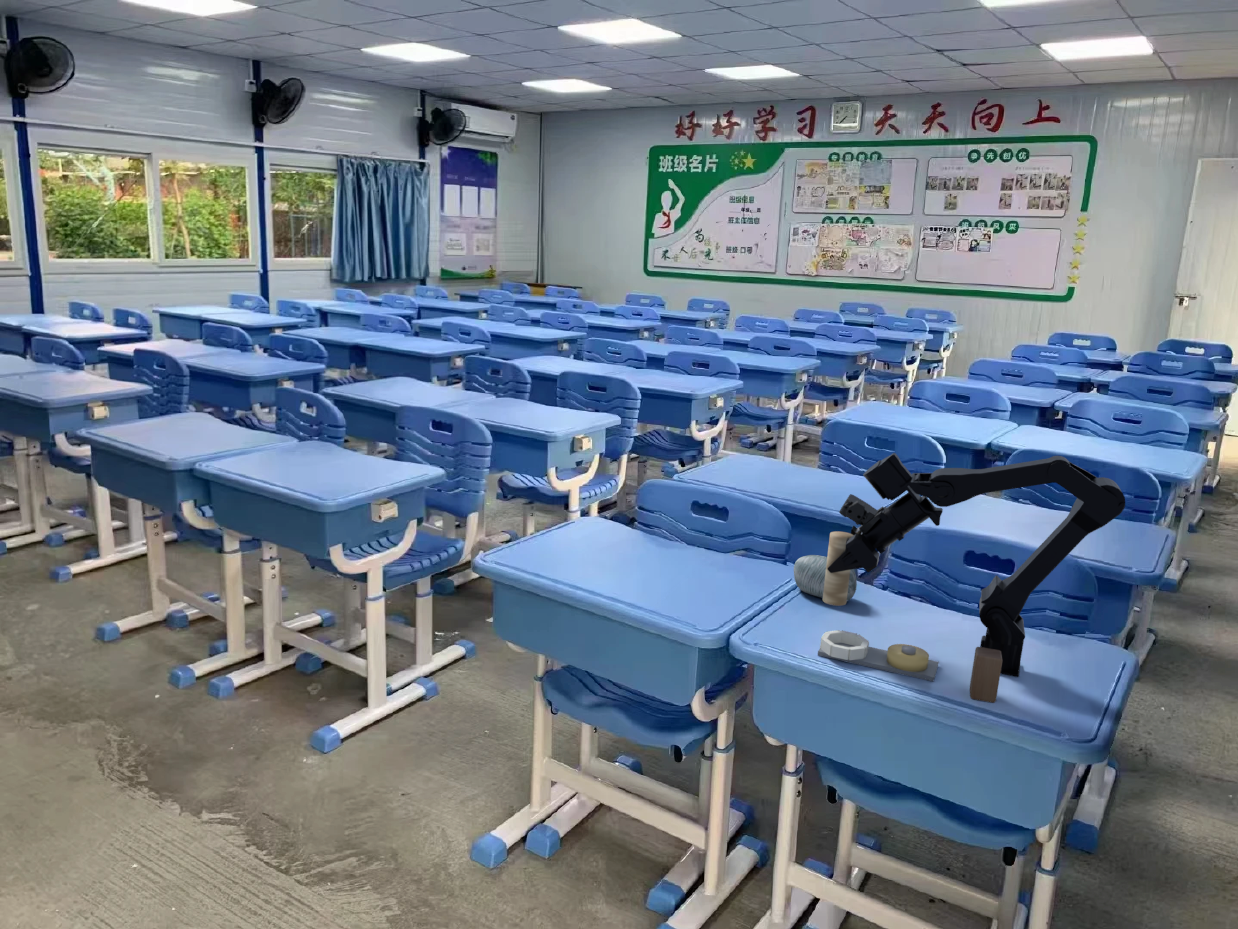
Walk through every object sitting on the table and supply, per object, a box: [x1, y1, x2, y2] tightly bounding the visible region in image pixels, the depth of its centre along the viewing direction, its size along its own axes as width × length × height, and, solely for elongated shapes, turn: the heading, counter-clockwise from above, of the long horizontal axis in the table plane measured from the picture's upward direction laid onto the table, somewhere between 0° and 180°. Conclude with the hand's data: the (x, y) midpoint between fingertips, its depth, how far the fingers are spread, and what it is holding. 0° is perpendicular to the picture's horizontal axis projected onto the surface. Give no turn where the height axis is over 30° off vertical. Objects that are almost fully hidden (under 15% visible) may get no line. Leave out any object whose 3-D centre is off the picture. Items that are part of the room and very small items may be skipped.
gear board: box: [817, 629, 940, 682], centre depth 168 cm, size 20×8×4 cm, turn 65°
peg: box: [822, 530, 854, 607], centre depth 176 cm, size 4×4×13 cm
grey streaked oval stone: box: [793, 554, 858, 602], centre depth 199 cm, size 14×10×10 cm
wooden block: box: [969, 646, 1002, 704], centre depth 157 cm, size 4×4×8 cm
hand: (830, 566), depth 176 cm, fingers closed on peg, 4 cm apart
